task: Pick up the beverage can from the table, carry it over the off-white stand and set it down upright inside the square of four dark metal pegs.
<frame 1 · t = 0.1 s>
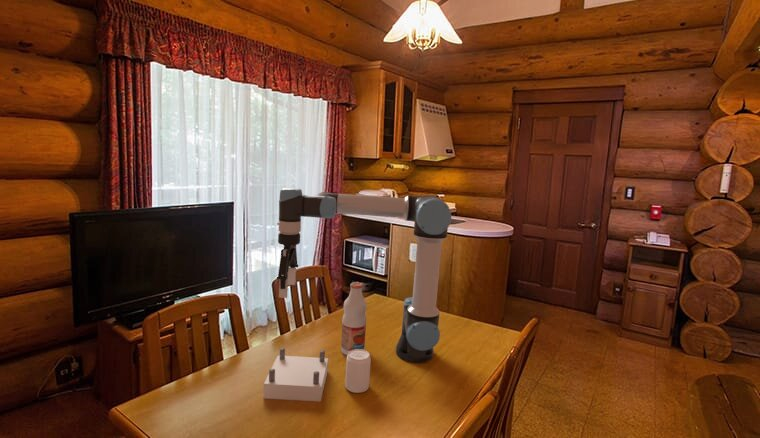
hand: (287, 290, 142), 28 cm above the table, tool pointing down, fingers open, 13 cm apart
fruit juice: (352, 351, 159), on the table
peg stand: (297, 383, 134), on the table
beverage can: (356, 387, 135), on the table
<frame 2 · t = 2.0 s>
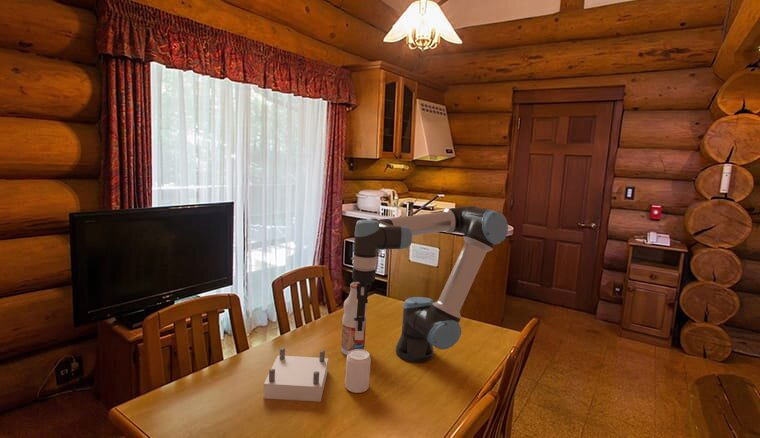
hand: (359, 330, 131), 20 cm above the table, tool pointing down, fingers open, 13 cm apart
nothing on the table moved.
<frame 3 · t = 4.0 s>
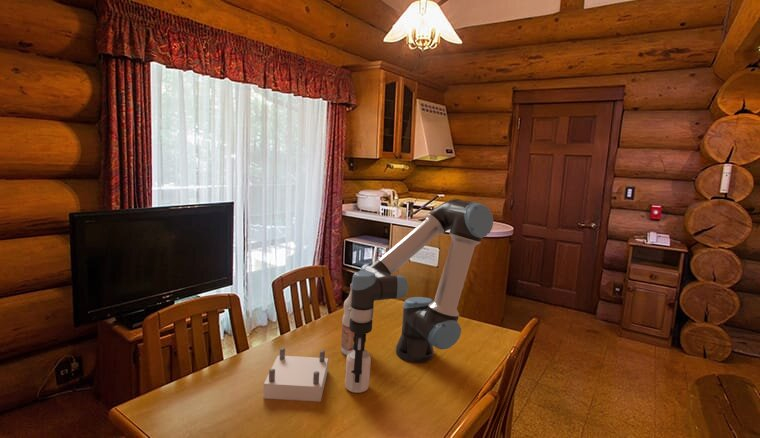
hand: (357, 382, 134), 2 cm above the table, tool pointing down, fingers closed on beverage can, 8 cm apart
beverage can: (356, 387, 135), on the table, touching gripper
everything else where it was.
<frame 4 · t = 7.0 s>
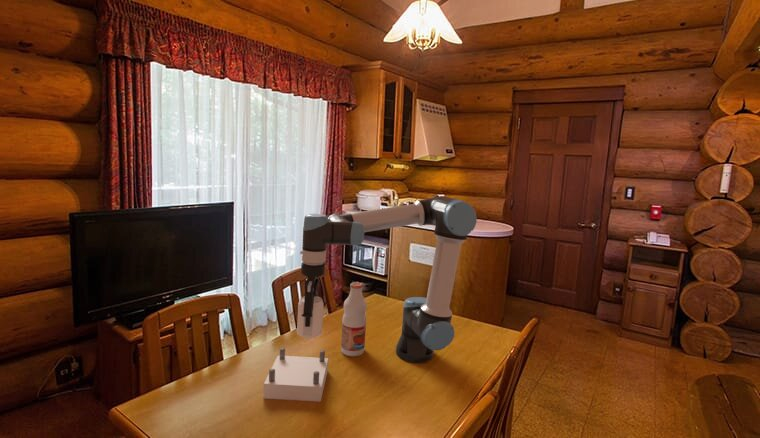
hand: (309, 329, 131), 20 cm above the table, tool pointing down, fingers closed on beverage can, 8 cm apart
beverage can: (309, 334, 131), point 18 cm above the table, touching gripper
everything else where it was.
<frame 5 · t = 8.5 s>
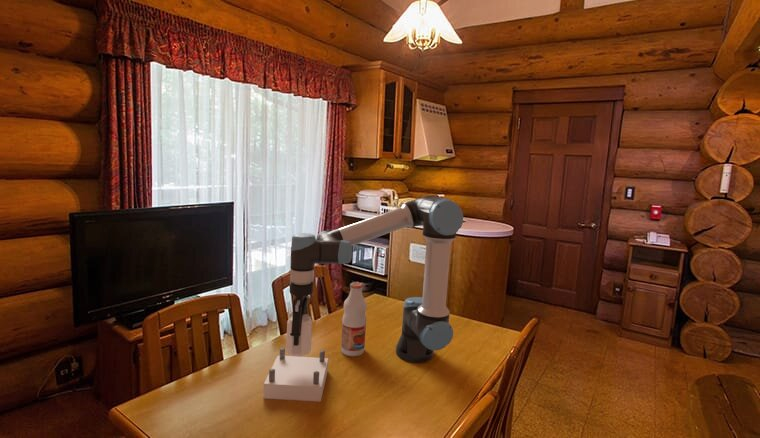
hand: (298, 347, 132), 13 cm above the table, tool pointing down, fingers closed on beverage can, 8 cm apart
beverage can: (298, 352, 133), point 11 cm above the table, touching gripper
everything else where it was.
when the fingers open (8 cm above the table, at t = 9.8 s): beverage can drops 1 cm, resting on peg stand.
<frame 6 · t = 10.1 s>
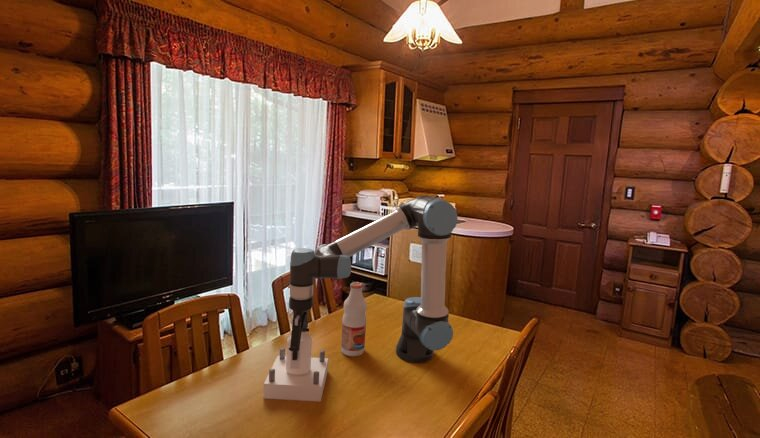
hand: (298, 358, 133), 9 cm above the table, tool pointing down, fingers open, 11 cm apart
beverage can: (298, 370, 134), point 5 cm above the table, touching peg stand
everything else where it was.
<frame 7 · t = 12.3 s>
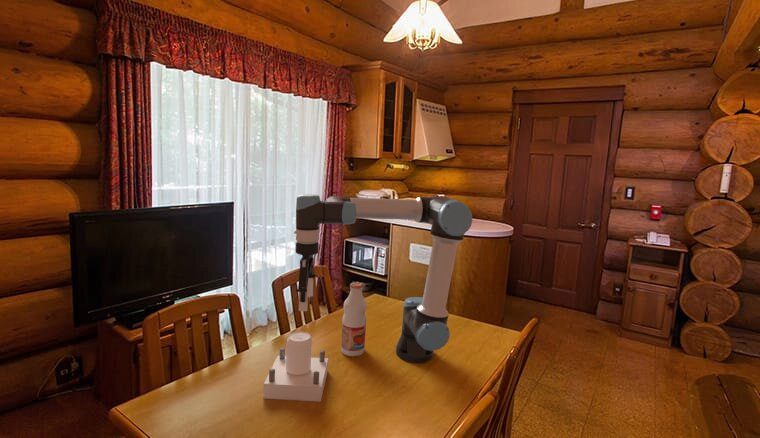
hand: (306, 303, 134), 27 cm above the table, tool pointing down, fingers open, 13 cm apart
nothing on the table moved.
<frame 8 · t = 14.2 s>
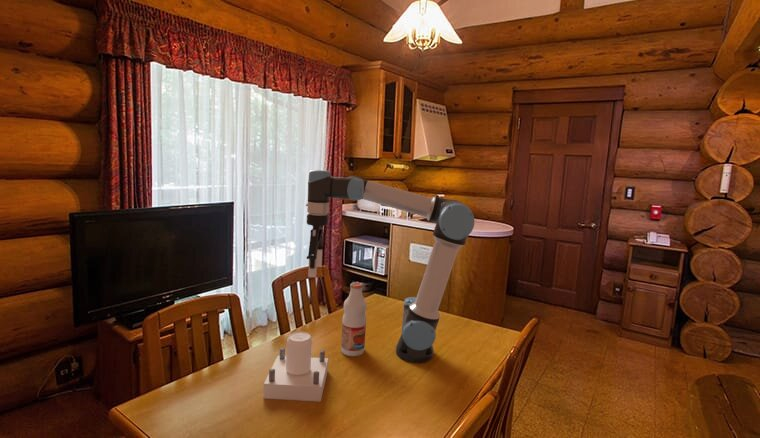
hand: (315, 271, 145), 35 cm above the table, tool pointing down, fingers open, 13 cm apart
nothing on the table moved.
at the end: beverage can inside the target area on the peg stand (0.0 cm from its centre), point 4.8 cm above the peg stand's base; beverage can tilted 0°; the gripper is holding nothing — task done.
